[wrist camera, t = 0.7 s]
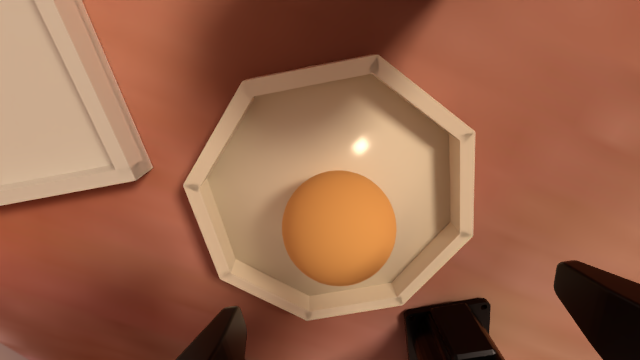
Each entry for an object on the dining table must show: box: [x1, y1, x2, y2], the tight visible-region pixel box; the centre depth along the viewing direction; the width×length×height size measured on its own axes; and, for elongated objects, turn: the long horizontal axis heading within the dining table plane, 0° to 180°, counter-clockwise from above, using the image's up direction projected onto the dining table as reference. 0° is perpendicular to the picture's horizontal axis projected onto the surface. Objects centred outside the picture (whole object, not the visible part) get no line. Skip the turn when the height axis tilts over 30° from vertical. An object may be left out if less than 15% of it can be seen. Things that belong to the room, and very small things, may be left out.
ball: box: [282, 170, 397, 286], centre depth 16 cm, size 6×6×6 cm
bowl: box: [183, 54, 475, 321], centre depth 19 cm, size 16×16×2 cm
